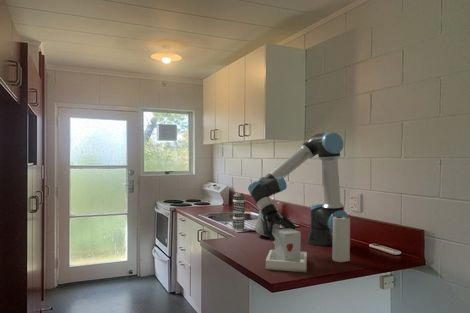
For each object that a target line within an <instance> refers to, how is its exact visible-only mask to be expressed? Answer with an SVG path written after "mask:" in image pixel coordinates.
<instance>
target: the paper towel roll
mask: <svg viewBox="0 0 470 313" xmlns="http://www.w3.org/2000/svg"><path fill="white" fill-rule="evenodd" d="M332 236H333V245H332V251H331V252H332V259H331V260H332V261H333V262H337V263H344V262H350V261H351V260H350V257H351V256H350V255H351V253H350V251H351V250H350V248H351V218H350V217H349V218H344V217H333V230H332Z"/></svg>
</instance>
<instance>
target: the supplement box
mask: <svg viewBox="0 0 470 313" xmlns="http://www.w3.org/2000/svg"><path fill="white" fill-rule="evenodd" d="M301 235H302V234H301V231H299V230H296V229H295V230H293V229H291V228H290V229H286V228H281V229H280V228H279V229H278V230H275V236H276V237H277V239H278V241H279V242H280V244H281V245H280V246H279V247H278V248H276V246H275V245H274V250H275V260H280V261H293V262H300V252H301V239H302V238H301Z"/></svg>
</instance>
